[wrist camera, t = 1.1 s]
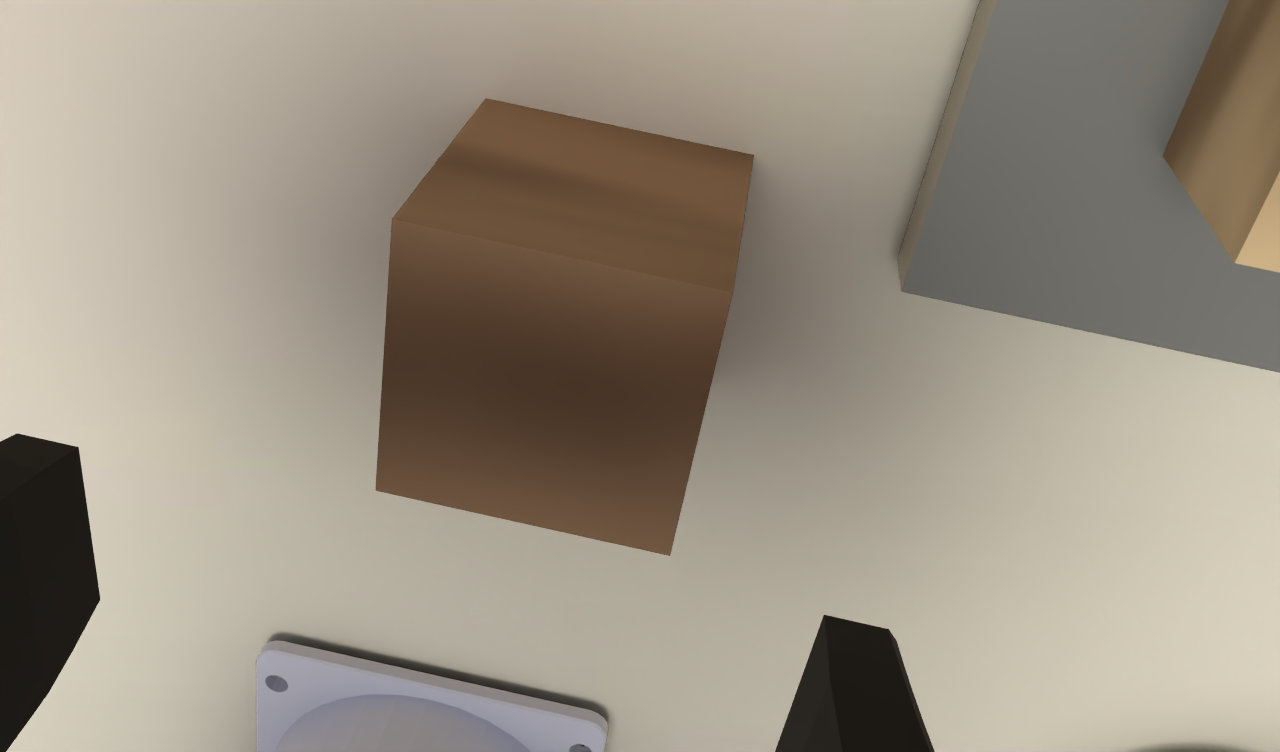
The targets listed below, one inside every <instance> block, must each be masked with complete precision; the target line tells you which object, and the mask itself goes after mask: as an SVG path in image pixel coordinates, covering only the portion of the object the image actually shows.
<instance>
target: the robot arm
mask: <svg viewBox="0 0 1280 752" xmlns="http://www.w3.org/2000/svg"><path fill="white" fill-rule="evenodd" d="M99 601H100V594H99V587H98V580H97V573H96V567H95V560H94V553H93V546H92V539H91V532H90V525H89V518H88V511H87V504H86V497H85V490H84V483H83V476H82V469H81V462H80V455H79V448H78V447H75V446H71V445H66V444H62V443H57V442H53V441H48V440H44V439H39V438H35V437H30V436H26V435H22V434H15V435H13V436H11V437H9V438H7V439H5V440H3V441H1V442H0V752H6V751H7V750H8V748H9V747H10V745H11V744H12V743H13V741H14V740H15V739H16V737H17V736H18V734H19V733H20V732H21V730H22V729H23V728H24V726H25V725H26V723H27V722H28V721H29V719H30V718H31V717H32V715H33V714H34V712H35V711H36V710H37V708H38V707H39V705H40V704H41V703H42V701H43V700H44V698H45V697H46V695H47V694H48V693H49V691H50V689H51V687H52V686H53V684H54V682H55V681H56V679H57V677H58V675H59V674H60V672H61V670H62V668H63V667H64V665H65V663H66V661H67V660H68V658H69V656H70V655H71V653H72V651H73V649H74V647H75V646H76V644H77V642H78V640H79V638H80V636H81V634H82V632H83V631H84V629H85V627H86V625H87V623H88V621H89V619H90V617H91V616H92V614H93V612H94V610H95V608H96V606H97V604H98V603H99ZM278 676H279V677H278ZM280 677H282V678H283V679H282V678H280ZM256 730H257V752H604V748H605V743H606V739H607V734H608V723H607V722H606V720H605V719H604V718H603V717H602V716H601V715H600V714H598V713H597V712H594V711H591V710H588V709H583V708H579V707H574V706H570V705H566V704H561V703H557V702H552V701H548V700H543V699H539V698H534V697H530V696H526V695H521V694H517V693H512V692H508V691H503V690H499V689H494V688H490V687H486V686H481V685H477V684H472V683H468V682H463V681H459V680H454V679H450V678H446V677H441V676H437V675H432V674H428V673H423V672H419V671H414V670H410V669H406V668H401V667H397V666H392V665H388V664H383V663H379V662H374V661H370V660H365V659H361V658H357V657H352V656H348V655H343V654H339V653H334V652H330V651H325V650H321V649H317V648H312V647H308V646H303V645H299V644H294V643H290V642H285V641H271V642H267V643H266V644H265V645H264V646H263V647H262V649H261V651H260V652H259V654H258V656H257V659H256ZM577 744H583V745H585V746H587V747H583V746H580V745H577ZM775 752H934V749H933V746H932V744H931V741H930V738H929V736H928V733H927V730H926V728H925V725H924V722H923V719H922V717H921V714H920V711H919V708H918V705H917V703H916V700H915V697H914V694H913V691H912V688H911V685H910V682H909V679H908V676H907V673H906V670H905V667H904V664H903V661H902V657H901V654H900V651H899V648H898V644H897V641H896V639H895V638H894V636H893V635H892V634H891V632H890V631H889V629H885V628H880V627H876V626H871V625H867V624H862V623H858V622H853V621H849V620H845V619H840V618H836V617H831V616H827V615H824V616H823V619H822V622H821V625H820V628H819V630H818V633H817V636H816V639H815V642H814V644H813V647H812V650H811V653H810V656H809V658H808V661H807V664H806V667H805V670H804V672H803V675H802V678H801V681H800V684H799V686H798V689H797V692H796V695H795V698H794V700H793V703H792V706H791V709H790V712H789V714H788V717H787V720H786V723H785V726H784V728H783V731H782V734H781V737H780V740H779V742H778V745H777V748H776V751H775Z"/></svg>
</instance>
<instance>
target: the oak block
mask: <svg viewBox="0 0 1280 752" xmlns="http://www.w3.org/2000/svg"><path fill="white" fill-rule="evenodd" d="M1163 157H1164V159H1165V160H1166V162H1167V163H1168V165H1169V166H1170V168H1171V169H1172V171H1173V172H1174V174H1175V175H1176V177H1177V178H1178V180H1179V181H1180V183H1181V184H1182V186H1183V187H1184V189H1185V190H1186V192H1187V193H1188V195H1189V196H1190V197H1191V199H1192V200H1193V202H1194V203H1195V205H1196V206H1197V208H1198V209H1199V211H1200V212H1201V214H1202V215H1203V217H1204V218H1205V220H1206V221H1207V223H1208V224H1209V226H1210V227H1211V229H1212V230H1213V232H1214V233H1215V235H1216V236H1217V238H1218V239H1219V241H1220V242H1221V244H1222V245H1223V247H1224V248H1225V249H1226V251H1227V252H1228V254H1229V255H1230V257H1231V258H1232V260H1233V261H1234V263H1237V264H1241V265H1246V266H1251V267H1255V268H1260V269H1265V270H1270V271H1274V272H1279V273H1280V0H1229V3H1228V5H1227V7H1226V10H1225V12H1224V14H1223V17H1222V19H1221V21H1220V24H1219V26H1218V28H1217V30H1216V33H1215V35H1214V37H1213V40H1212V42H1211V44H1210V47H1209V49H1208V51H1207V54H1206V56H1205V58H1204V61H1203V63H1202V65H1201V68H1200V70H1199V72H1198V75H1197V77H1196V79H1195V81H1194V84H1193V86H1192V88H1191V91H1190V93H1189V95H1188V98H1187V100H1186V102H1185V105H1184V107H1183V109H1182V112H1181V114H1180V116H1179V119H1178V121H1177V123H1176V126H1175V128H1174V130H1173V132H1172V135H1171V137H1170V139H1169V142H1168V144H1167V146H1166V149H1165V151H1164V153H1163Z"/></svg>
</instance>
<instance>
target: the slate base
mask: <svg viewBox="0 0 1280 752" xmlns="http://www.w3.org/2000/svg"><path fill="white" fill-rule="evenodd" d="M1228 3H1229V0H980V2H979V6H978V9H977V12H976V15H975V18H974V21H973V24H972V28H971V31H970V34H969V37H968V40H967V43H966V46H965V49H964V53H963V56H962V59H961V62H960V65H959V68H958V71H957V75H956V78H955V81H954V84H953V87H952V90H951V93H950V96H949V100H948V103H947V106H946V109H945V112H944V115H943V118H942V121H941V125H940V128H939V131H938V134H937V137H936V140H935V143H934V147H933V150H932V153H931V156H930V159H929V162H928V165H927V168H926V172H925V175H924V178H923V181H922V184H921V187H920V190H919V194H918V197H917V200H916V203H915V206H914V209H913V212H912V215H911V219H910V222H909V225H908V228H907V231H906V234H905V237H904V241H903V244H902V247H901V250H900V253H899V256H898V267H899V276H900V285H901V292H906V293H910V294H915V295H920V296H924V297H929V298H934V299H938V300H943V301H948V302H952V303H957V304H962V305H966V306H971V307H976V308H980V309H985V310H990V311H994V312H999V313H1004V314H1008V315H1013V316H1018V317H1022V318H1027V319H1032V320H1036V321H1041V322H1046V323H1050V324H1055V325H1060V326H1065V327H1069V328H1074V329H1079V330H1083V331H1088V332H1093V333H1097V334H1102V335H1107V336H1111V337H1116V338H1121V339H1125V340H1130V341H1135V342H1139V343H1144V344H1149V345H1153V346H1158V347H1163V348H1167V349H1172V350H1177V351H1181V352H1186V353H1191V354H1195V355H1200V356H1205V357H1209V358H1214V359H1219V360H1223V361H1228V362H1233V363H1237V364H1242V365H1247V366H1251V367H1256V368H1261V369H1265V370H1270V371H1275V372H1279V373H1280V273H1279V272H1274V271H1270V270H1265V269H1260V268H1255V267H1251V266H1246V265H1241V264H1237V263H1234V261H1233V260H1232V258H1231V257H1230V255H1229V254H1228V252H1227V251H1226V249H1225V248H1224V247H1223V245H1222V244H1221V242H1220V241H1219V239H1218V238H1217V236H1216V235H1215V233H1214V232H1213V230H1212V229H1211V227H1210V226H1209V224H1208V223H1207V221H1206V220H1205V218H1204V217H1203V215H1202V214H1201V212H1200V211H1199V209H1198V208H1197V206H1196V205H1195V203H1194V202H1193V200H1192V199H1191V197H1190V196H1189V195H1188V193H1187V192H1186V190H1185V189H1184V187H1183V186H1182V184H1181V183H1180V181H1179V180H1178V178H1177V177H1176V175H1175V174H1174V172H1173V171H1172V169H1171V168H1170V166H1169V165H1168V163H1167V162H1166V160H1165V159H1164V157H1163V153H1164V151H1165V149H1166V146H1167V144H1168V142H1169V139H1170V137H1171V135H1172V132H1173V130H1174V128H1175V126H1176V123H1177V121H1178V119H1179V116H1180V114H1181V112H1182V109H1183V107H1184V105H1185V102H1186V100H1187V98H1188V95H1189V93H1190V91H1191V88H1192V86H1193V84H1194V81H1195V79H1196V77H1197V75H1198V72H1199V70H1200V68H1201V65H1202V63H1203V61H1204V58H1205V56H1206V54H1207V51H1208V49H1209V47H1210V44H1211V42H1212V40H1213V37H1214V35H1215V33H1216V30H1217V28H1218V26H1219V24H1220V21H1221V19H1222V17H1223V14H1224V12H1225V10H1226V7H1227V5H1228Z"/></svg>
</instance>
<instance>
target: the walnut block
mask: <svg viewBox="0 0 1280 752" xmlns="http://www.w3.org/2000/svg"><path fill="white" fill-rule="evenodd" d="M753 157H754V155H751V154H746V153H741V152H736V151H732V150H727V149H722V148H718V147H713V146H708V145H703V144H699V143H694V142H689V141H684V140H680V139H675V138H670V137H666V136H661V135H656V134H651V133H647V132H642V131H637V130H632V129H628V128H623V127H618V126H614V125H609V124H604V123H599V122H595V121H590V120H585V119H580V118H576V117H571V116H566V115H562V114H557V113H552V112H547V111H543V110H538V109H533V108H529V107H524V106H519V105H514V104H510V103H505V102H500V101H495V100H491V99H485V100H484V102H483V103H482V104H481V106H480V107H479V108H478V109H477V111H476V112H475V113H474V115H473V116H472V117H471V118H470V120H469V121H468V122H467V124H466V125H465V126H464V127H463V129H462V130H461V131H460V133H459V134H458V135H457V136H456V138H455V139H454V140H453V142H452V143H451V144H450V145H449V147H448V148H447V149H446V150H445V152H444V153H443V154H442V156H441V157H440V158H439V159H438V161H437V162H436V163H435V165H434V166H433V167H432V168H431V170H430V171H429V172H428V174H427V175H426V176H425V177H424V179H423V180H422V181H421V183H420V184H419V185H418V186H417V188H416V189H415V190H414V192H413V193H412V194H411V195H410V197H409V198H408V199H407V201H406V202H405V203H404V204H403V206H402V207H401V208H400V210H399V211H398V212H397V213H396V215H395V216H394V217H393V219H392V228H391V245H390V261H389V278H388V294H387V311H386V327H385V344H384V360H383V376H382V393H381V409H380V426H379V442H378V459H377V475H376V491H380V492H385V493H389V494H394V495H398V496H403V497H407V498H412V499H416V500H421V501H425V502H430V503H434V504H439V505H443V506H448V507H452V508H457V509H461V510H466V511H470V512H475V513H479V514H484V515H488V516H493V517H497V518H502V519H506V520H511V521H515V522H520V523H524V524H529V525H533V526H538V527H542V528H547V529H551V530H556V531H560V532H565V533H569V534H574V535H578V536H583V537H587V538H592V539H596V540H601V541H606V542H610V543H615V544H619V545H624V546H628V547H633V548H637V549H642V550H646V551H651V552H655V553H660V554H664V555H669V556H670V553H671V549H672V545H673V541H674V537H675V532H676V528H677V524H678V520H679V516H680V512H681V507H682V503H683V499H684V495H685V491H686V486H687V482H688V478H689V474H690V470H691V466H692V461H693V457H694V453H695V449H696V445H697V441H698V436H699V432H700V428H701V424H702V420H703V416H704V411H705V407H706V403H707V399H708V395H709V391H710V386H711V382H712V378H713V374H714V370H715V365H716V361H717V357H718V353H719V349H720V345H721V340H722V336H723V332H724V328H725V324H726V320H727V315H728V311H729V307H730V303H731V299H732V295H733V289H734V283H735V276H736V269H737V263H738V256H739V249H740V243H741V236H742V230H743V223H744V216H745V210H746V203H747V197H748V190H749V183H750V177H751V170H752V164H753Z"/></svg>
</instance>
